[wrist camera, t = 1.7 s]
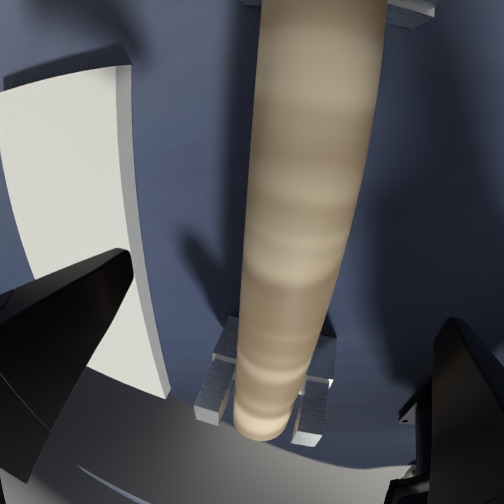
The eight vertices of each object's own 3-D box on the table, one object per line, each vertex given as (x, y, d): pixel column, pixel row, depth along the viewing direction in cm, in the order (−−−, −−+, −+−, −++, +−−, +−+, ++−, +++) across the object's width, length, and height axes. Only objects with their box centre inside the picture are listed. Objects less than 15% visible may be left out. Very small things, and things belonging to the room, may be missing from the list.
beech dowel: (291, 401, 17) (281, 446, 14) (241, 390, 17) (226, 433, 15) (381, -72, 4) (393, -116, 2) (282, -84, 5) (260, -129, 2)
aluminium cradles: (328, 358, 18) (316, 448, 13) (228, 337, 19) (193, 419, 14) (414, -13, 7) (471, -70, 2) (250, -35, 8) (183, -100, 3)
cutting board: (170, 388, 25) (165, 399, 24) (77, 350, 27) (71, 358, 26) (131, 64, 12) (115, 66, 11) (7, 90, 13) (-6, 94, 12)
